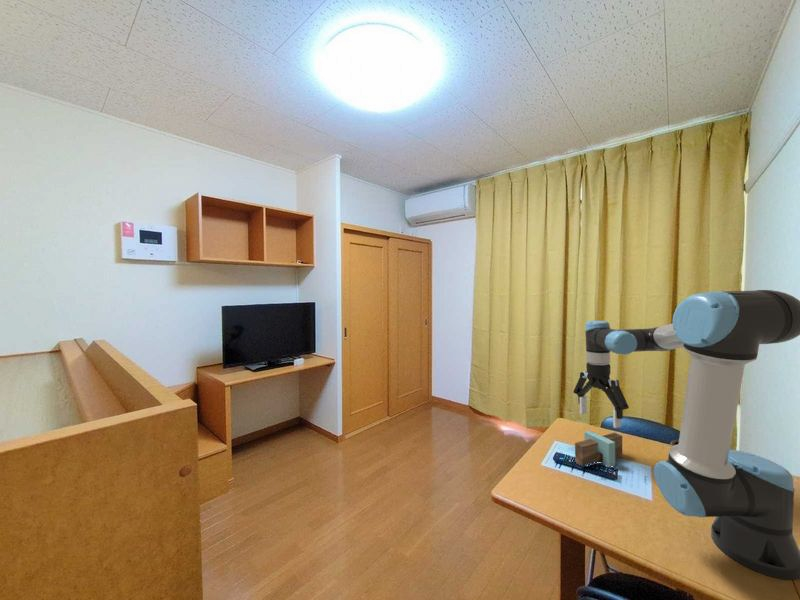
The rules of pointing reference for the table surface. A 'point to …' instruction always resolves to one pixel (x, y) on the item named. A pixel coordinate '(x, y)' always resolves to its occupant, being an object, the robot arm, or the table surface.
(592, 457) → the walnut fin
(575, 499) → the table surface
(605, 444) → the light blue piece
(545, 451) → the table surface
